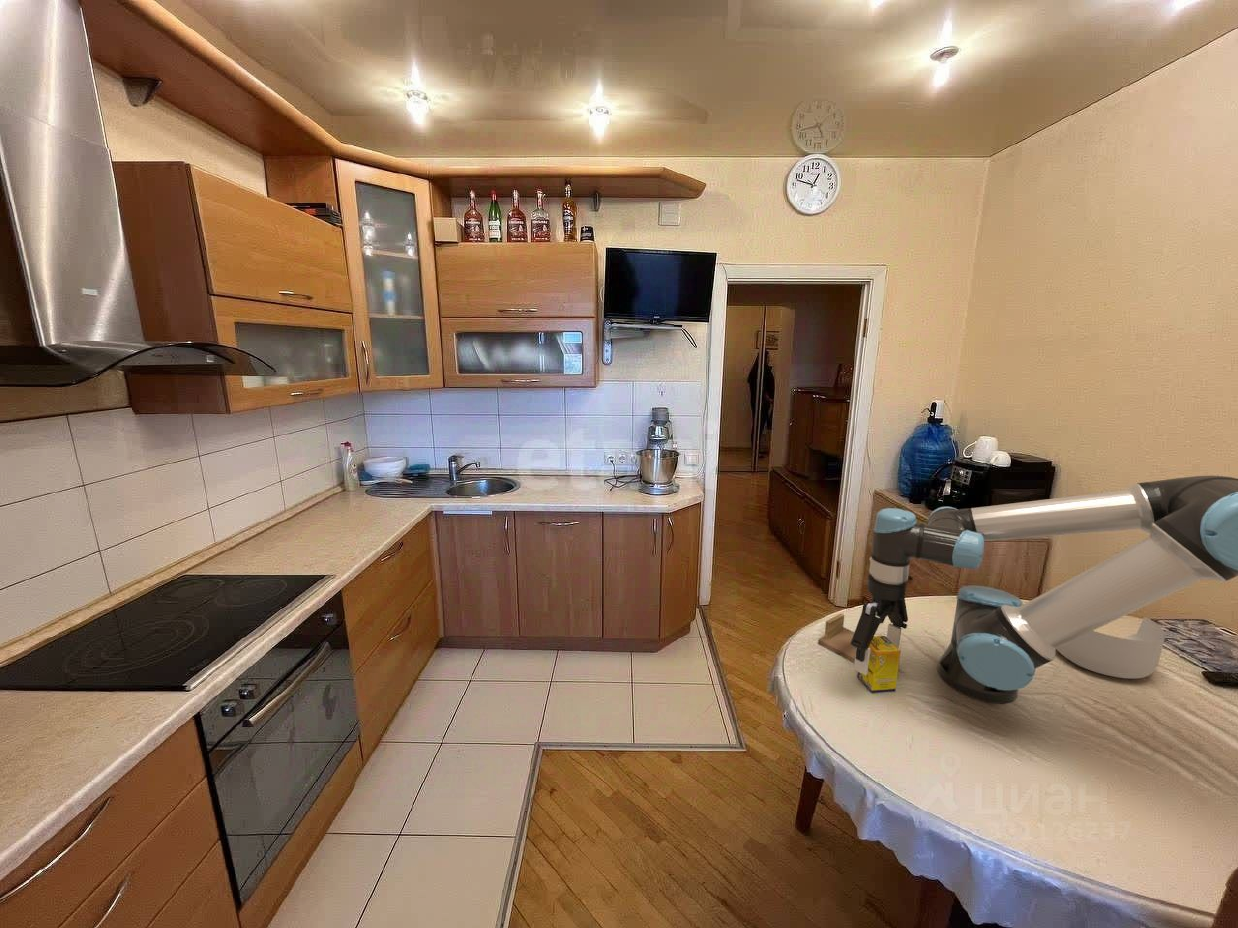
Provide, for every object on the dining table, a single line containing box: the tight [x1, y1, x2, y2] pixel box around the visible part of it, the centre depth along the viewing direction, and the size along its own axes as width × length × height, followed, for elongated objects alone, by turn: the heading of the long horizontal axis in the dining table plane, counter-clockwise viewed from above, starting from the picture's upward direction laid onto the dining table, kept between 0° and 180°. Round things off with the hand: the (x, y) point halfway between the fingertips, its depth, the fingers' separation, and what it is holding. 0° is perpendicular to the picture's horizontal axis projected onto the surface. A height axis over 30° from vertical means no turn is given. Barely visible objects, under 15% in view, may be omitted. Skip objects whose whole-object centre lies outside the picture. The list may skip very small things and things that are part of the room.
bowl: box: [1056, 616, 1166, 680], centre depth 118 cm, size 20×19×12 cm
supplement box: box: [857, 635, 901, 694], centre depth 111 cm, size 6×6×11 cm
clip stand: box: [817, 613, 887, 663], centre depth 124 cm, size 15×11×6 cm
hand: (876, 660), depth 111 cm, fingers open, 13 cm apart
